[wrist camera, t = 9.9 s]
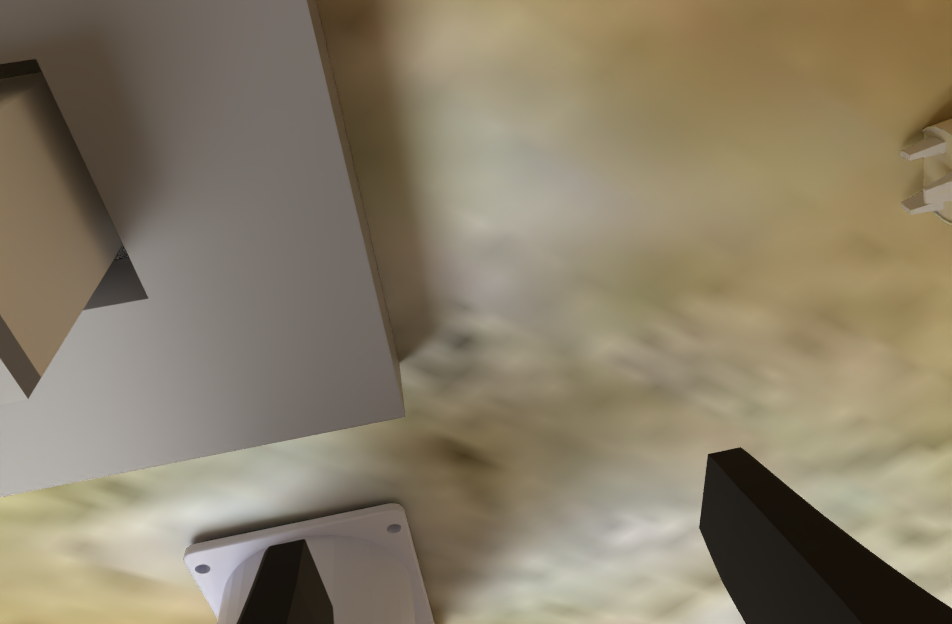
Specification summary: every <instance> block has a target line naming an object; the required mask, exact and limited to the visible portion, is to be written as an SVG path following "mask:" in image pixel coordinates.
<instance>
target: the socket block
mask: <svg viewBox="0 0 952 624" xmlns="http://www.w3.org/2000/svg"><path fill="white" fill-rule="evenodd" d="M31 59H36V60H37V62H38V64H39V66H40V68H41V71H42V73H43V75H44V77H45V79H46V81H47V83H48V85H49V88H50V90H51V92H52V94H53V96H54V98H55V100H56V103H57V105H58V107H59V109H60V111H61V113H62V115H63V117H64V120H65V122H66V124H67V126H68V128H69V130H70V132H71V134H72V137H73V139H74V141H75V143H76V145H77V147H78V149H79V151H80V154H81V156H82V158H83V160H84V162H85V164H86V166H87V168H88V171H89V173H90V175H91V177H92V179H93V181H94V183H95V185H96V188H97V190H98V192H99V194H100V196H101V198H102V200H103V202H104V205H105V207H106V209H107V211H108V213H109V215H110V217H111V220H112V222H113V224H114V226H115V228H116V230H117V232H118V234H119V237H120V239H121V241H122V243H123V245H124V247H125V249H126V251H127V254H128V256H129V257H128V258H122V259H116V260H113V262H112V263H111V265H110V266H109V268H108V270H107V271H106V273H105V275H104V276H103V278H102V280H101V281H100V283H99V284H98V286H97V288H96V289H95V291H94V293H93V294H92V296H91V297H90V299H89V301H88V302H87V304H86V306H85V307H84V309H83V311H82V312H81V314H80V315H79V317H78V319H77V320H76V322H75V324H74V325H73V327H72V328H71V330H70V332H69V333H68V335H67V337H66V338H65V340H64V342H63V343H62V345H61V346H60V348H59V350H58V351H57V353H56V355H55V356H54V358H53V359H52V361H51V363H50V364H49V366H48V368H47V369H46V371H45V373H44V374H43V376H42V377H41V379H40V381H39V382H38V384H37V386H36V387H35V389H34V390H33V392H32V394H31V395H30V397H29V399H27V400H22V401H17V402H12V403H7V404H2V405H0V497H4V496H9V495H14V494H19V493H24V492H29V491H34V490H39V489H44V488H49V487H54V486H59V485H64V484H69V483H75V482H80V481H85V480H90V479H95V478H100V477H105V476H110V475H115V474H120V473H125V472H130V471H135V470H140V469H145V468H150V467H155V466H160V465H165V464H170V463H175V462H180V461H185V460H190V459H195V458H200V457H206V456H211V455H216V454H221V453H226V452H231V451H236V450H241V449H246V448H251V447H256V446H261V445H266V444H271V443H276V442H281V441H286V440H291V439H296V438H301V437H306V436H311V435H316V434H321V433H326V432H332V431H337V430H342V429H347V428H352V427H357V426H362V425H367V424H372V423H377V422H382V421H387V420H392V419H397V418H402V417H405V410H404V401H403V392H402V383H401V374H400V365H399V360H398V356H397V351H396V347H395V343H394V338H393V334H392V330H391V325H390V321H389V317H388V312H387V308H386V304H385V299H384V295H383V290H382V286H381V282H380V277H379V273H378V269H377V264H376V260H375V256H374V251H373V247H372V243H371V238H370V234H369V229H368V225H367V221H366V216H365V212H364V208H363V203H362V199H361V195H360V190H359V186H358V181H357V177H356V173H355V168H354V164H353V160H352V155H351V151H350V147H349V142H348V138H347V134H346V129H345V125H344V120H343V116H342V112H341V107H340V103H339V99H338V94H337V90H336V86H335V81H334V77H333V73H332V68H331V64H330V59H329V55H328V51H327V46H326V42H325V38H324V33H323V29H322V25H321V20H320V16H319V11H318V7H317V3H316V0H0V64H5V63H12V62H18V61H25V60H31Z"/></svg>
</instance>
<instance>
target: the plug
mask: <svg viewBox="0 0 952 624" xmlns="http://www.w3.org/2000/svg"><path fill="white" fill-rule="evenodd" d="M122 245H123V243H122V241H121V239H120V237H119V234H118V232H117V230H116V228H115V226H114V224H113V222H112V220H111V217H110V215H109V213H108V211H107V209H106V207H105V205H104V202H103V200H102V198H101V196H100V194H99V192H98V190H97V188H96V185H95V183H94V181H93V179H92V177H91V175H90V173H89V171H88V168H87V166H86V164H85V162H84V160H83V158H82V156H81V154H80V151H79V149H78V147H77V145H76V143H75V141H74V139H73V137H72V134H71V132H70V130H69V128H68V126H67V124H66V122H65V120H64V117H63V115H62V113H61V111H60V109H59V107H58V105H57V103H56V100H55V98H54V96H53V94H52V92H51V90H50V88H49V85H48V83H47V81H46V79H45V77H44V75H43V73H42V72H39V73H33V74H28V75H22V76H16V77H10V78H4V79H0V405H2V404H7V403H12V402H17V401H22V400H27V399H29V397H30V395H31V394H32V392H33V390H34V389H35V387H36V386H37V384H38V382H39V381H40V379H41V377H42V376H43V374H44V373H45V371H46V369H47V368H48V366H49V364H50V363H51V361H52V359H53V358H54V356H55V355H56V353H57V351H58V350H59V348H60V346H61V345H62V343H63V342H64V340H65V338H66V337H67V335H68V333H69V332H70V330H71V328H72V327H73V325H74V324H75V322H76V320H77V319H78V317H79V315H80V314H81V312H82V311H83V309H84V307H85V306H86V304H87V302H88V301H89V299H90V297H91V296H92V294H93V293H94V291H95V289H96V288H97V286H98V284H99V283H100V281H101V280H102V278H103V276H104V275H105V273H106V271H107V270H108V268H109V266H110V265H111V263H112V262H113V260H114V258H115V257H116V255H117V253H118V252H119V250H120V249H121V247H122Z"/></svg>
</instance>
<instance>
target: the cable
mask: <svg viewBox="0 0 952 624" xmlns="http://www.w3.org/2000/svg"><path fill="white" fill-rule="evenodd" d="M922 133H924V140H922V141H920V142H918V143H916V144H914V145H912V146H910V147H907V148H905V149H903V150H901V151H900V154H899V155H900V156H902V157H904V158H905V159H907V160H909V161H911V160H915V159H920V158H924V175H923V190H922V191H921V192H919V193H917V194H915V195H914V196H912V197H910V198H908V199H906V200H904V201H902V202H901V208H902V209H903V210H905V211H906V212H907V213H908V214H909V215H913V214H919V213H925V212H931V211H932V212H933V213H934V214H935V215H936V216H937V217H938V218H939V219H940V220H941V221H943V222H945V223H946V224H948V225H951V226H952V119H949V120H946V121H943V122H940V123H938V124H935V125H932V126H929V127H926V128H924V129H923V130H922Z"/></svg>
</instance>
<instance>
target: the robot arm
mask: <svg viewBox="0 0 952 624" xmlns="http://www.w3.org/2000/svg"><path fill="white" fill-rule="evenodd" d="M392 524H395V525H392ZM699 528H700V531H701V533H702V536H703V538H704V540H705V543H706V545H707V548H708V550H709V552H710V555H711V557H712V559H713V562H714V564H715V566H716V568H717V571H718V573H719V575H720V577H721V580H722V582H723V584H724V586H725V587H726V589H727V591H728V593H729V595H730V597H731V598H732V600H733V602H734V604H735V605H736V607H737V609H738V611H739V612H740V614H741V616H742V618H743V620H744V621H745V623H746V624H952V608H951V607H949V606H947V605H946V604H944V603H943V602H941V601H940V600H938V599H937V598H935V597H934V596H932V595H931V594H930V593H928V592H927V591H925V590H924V589H922V588H921V587H919V586H918V585H916V584H915V583H914V582H912V581H911V580H909V579H908V578H906V577H905V576H904V575H902V574H901V573H899V572H898V571H897V570H895V569H894V568H892V567H891V566H890V565H888V564H887V563H885V562H884V561H883V560H881V559H880V558H879V557H877V556H876V555H875V554H873V553H872V552H871V551H869V550H868V549H866V548H865V547H864V546H862V545H861V544H860V543H859V542H857V541H856V540H855V539H853V538H852V537H851V536H850V535H848V534H847V533H846V532H844V531H843V530H842V529H840V528H839V527H838V526H837V525H835V524H834V523H833V522H831V521H830V520H829V519H828V518H826V517H825V516H824V515H823V514H821V513H820V512H819V511H818V510H816V509H815V508H814V507H813V506H811V505H810V504H809V503H808V502H806V501H805V500H804V499H803V498H802V497H800V496H799V495H798V494H797V493H795V492H794V491H793V490H792V489H791V488H789V487H788V486H787V485H786V484H785V483H783V482H782V481H781V480H780V479H779V478H777V477H776V476H775V475H774V474H773V473H771V472H770V471H769V470H768V469H767V468H765V467H764V466H763V465H762V464H761V463H760V462H758V461H757V460H756V459H755V458H754V457H752V456H751V455H750V454H749V453H748V452H746V451H745V450H744V449H742V448H741V447H740V448H735V449H730V450H726V451H721V452H716V453H711V454H708V459H707V467H706V476H705V484H704V492H703V501H702V509H701V517H700V526H699ZM183 560H184V563H185V565H186V567H187V568H188V570H189V572H190V573H191V575H192V577H193V578H194V580H195V582H196V583H197V585H198V587H199V589H200V590H201V592H202V594H203V595H204V597H205V599H206V600H207V602H208V604H209V605H210V607H211V609H212V610H213V612H214V614H215V615H216V617H217V619H218V622H217V624H435V623H434V619H433V615H432V611H431V608H430V604H429V600H428V596H427V593H426V589H425V585H424V581H423V578H422V574H421V570H420V566H419V563H418V559H417V555H416V551H415V548H414V544H413V540H412V536H411V533H410V529H409V525H408V521H407V518H406V514H405V510H404V508H403V507H402V506H401V505H399V504H395V503H388V504H384V505H379V506H374V507H369V508H364V509H360V510H355V511H350V512H345V513H340V514H336V515H331V516H326V517H321V518H316V519H311V520H307V521H302V522H297V523H292V524H287V525H283V526H278V527H273V528H268V529H263V530H259V531H254V532H249V533H244V534H239V535H234V536H230V537H225V538H220V539H215V540H210V541H206V542H201V543H196V544H193V545H190V546H189V547H188V548H186V550H185V553H184V558H183Z"/></svg>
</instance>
